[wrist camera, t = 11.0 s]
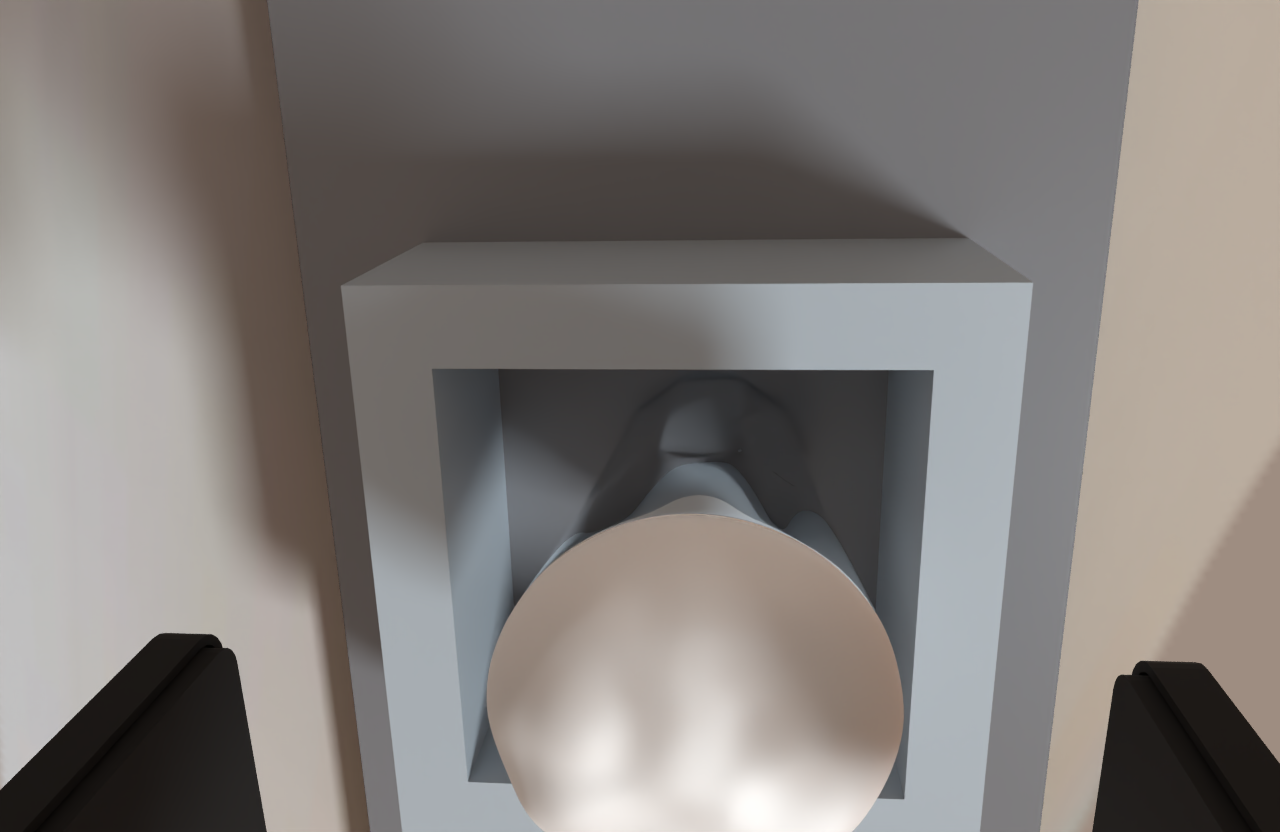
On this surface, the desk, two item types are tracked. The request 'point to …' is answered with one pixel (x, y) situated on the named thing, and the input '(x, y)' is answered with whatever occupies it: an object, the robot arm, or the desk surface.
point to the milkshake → (698, 641)
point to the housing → (705, 330)
